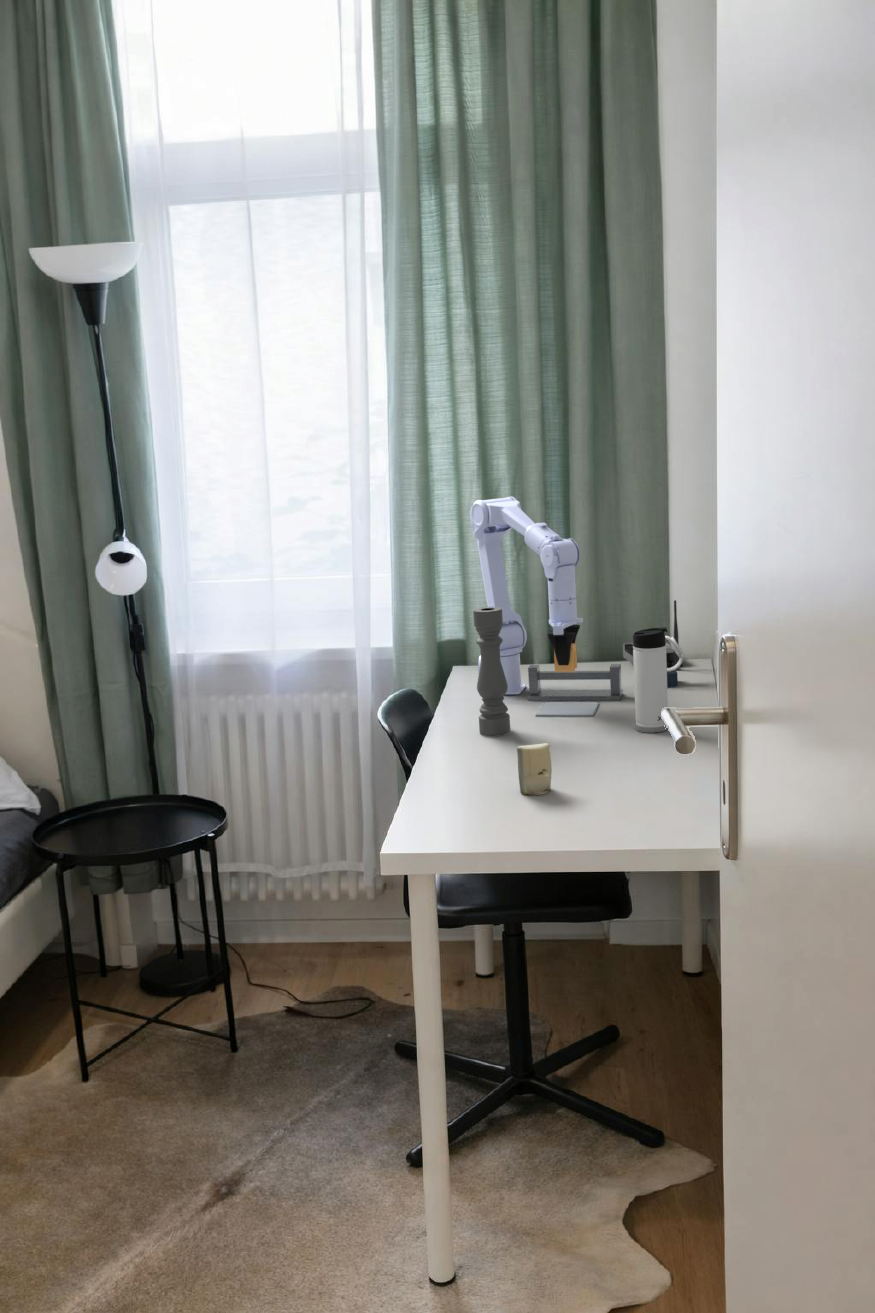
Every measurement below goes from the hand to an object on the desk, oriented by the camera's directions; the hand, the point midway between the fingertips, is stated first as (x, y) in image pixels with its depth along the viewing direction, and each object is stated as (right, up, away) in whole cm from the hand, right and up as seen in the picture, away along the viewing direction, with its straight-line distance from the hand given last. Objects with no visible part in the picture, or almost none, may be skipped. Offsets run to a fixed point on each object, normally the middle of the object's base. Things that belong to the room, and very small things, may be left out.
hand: (565, 662), depth 236 cm
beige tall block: (-10, -22, -48) cm, 53 cm away
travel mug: (+15, -13, -16) cm, 26 cm away
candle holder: (-15, -14, -11) cm, 23 cm away
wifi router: (+26, -1, +40) cm, 48 cm away
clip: (0, -2, 0) cm, 2 cm away
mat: (+1, -10, +2) cm, 10 cm away
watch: (+25, -5, +19) cm, 32 cm away
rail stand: (+4, -8, +12) cm, 15 cm away
